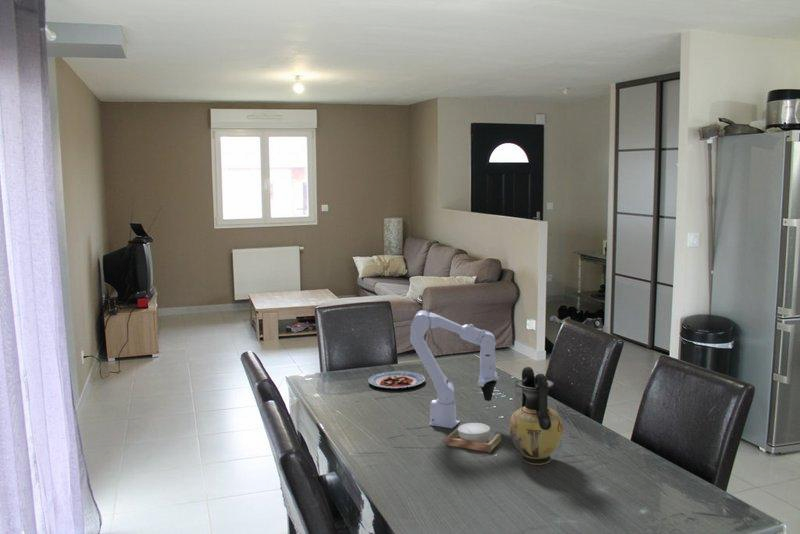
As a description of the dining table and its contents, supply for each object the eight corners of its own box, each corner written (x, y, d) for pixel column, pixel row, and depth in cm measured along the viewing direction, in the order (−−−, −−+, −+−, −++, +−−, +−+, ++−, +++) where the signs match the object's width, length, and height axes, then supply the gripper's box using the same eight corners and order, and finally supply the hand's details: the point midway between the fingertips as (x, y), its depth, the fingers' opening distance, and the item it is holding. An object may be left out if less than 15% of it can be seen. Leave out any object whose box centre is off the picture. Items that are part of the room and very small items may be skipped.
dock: (445, 444, 241) (445, 437, 241) (457, 434, 251) (457, 427, 251) (490, 452, 233) (489, 445, 233) (500, 440, 243) (500, 433, 243)
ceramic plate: (425, 391, 303) (425, 385, 302) (366, 392, 303) (366, 386, 303) (424, 375, 328) (424, 369, 328) (370, 376, 329) (369, 370, 329)
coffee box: (532, 430, 253) (532, 387, 251) (514, 429, 254) (514, 386, 252) (533, 421, 262) (532, 380, 260) (515, 420, 263) (515, 379, 261)
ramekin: (451, 443, 243) (451, 428, 242) (470, 434, 251) (470, 420, 250) (477, 451, 235) (477, 436, 234) (496, 441, 243) (496, 427, 243)
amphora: (499, 454, 231) (498, 367, 227) (542, 445, 238) (541, 360, 234) (529, 474, 215) (529, 380, 211) (574, 464, 222) (574, 373, 218)
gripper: (490, 370, 249) (491, 407, 250) (504, 361, 261) (504, 396, 263) (472, 368, 252) (472, 404, 254) (487, 359, 265) (487, 393, 266)
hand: (488, 400), depth 259 cm, fingers closed
